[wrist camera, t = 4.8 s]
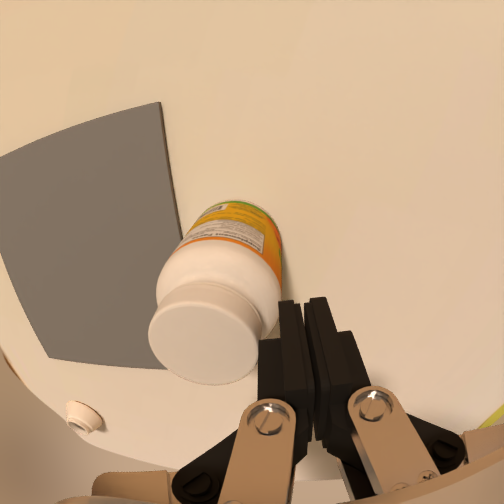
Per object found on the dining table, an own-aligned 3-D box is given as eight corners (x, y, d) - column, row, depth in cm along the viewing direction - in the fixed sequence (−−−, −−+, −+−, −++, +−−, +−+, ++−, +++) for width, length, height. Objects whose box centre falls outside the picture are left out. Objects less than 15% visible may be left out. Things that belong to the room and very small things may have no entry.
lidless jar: (107, 426, 30) (96, 404, 28) (100, 443, 27) (87, 423, 25) (76, 416, 30) (63, 394, 28) (68, 432, 27) (53, 411, 25)
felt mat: (160, 102, 15) (158, 101, 15) (212, 366, 23) (211, 370, 23) (-19, 167, 17) (-22, 168, 16) (50, 355, 25) (49, 357, 24)
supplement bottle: (265, 287, 20) (253, 409, 11) (187, 263, 20) (128, 371, 11) (293, 213, 18) (306, 313, 9) (205, 186, 17) (134, 261, 9)
